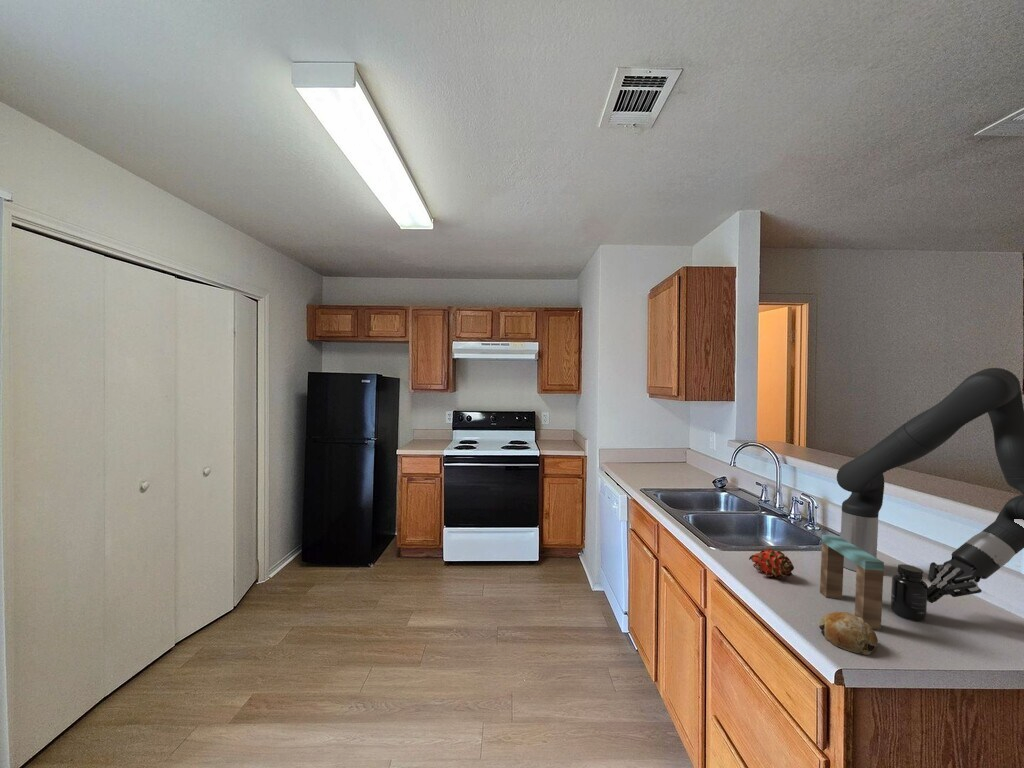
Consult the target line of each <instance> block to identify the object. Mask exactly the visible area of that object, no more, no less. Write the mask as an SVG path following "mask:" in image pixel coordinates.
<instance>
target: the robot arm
mask: <svg viewBox="0 0 1024 768" xmlns="http://www.w3.org/2000/svg"><path fill="white" fill-rule="evenodd" d="M985 414H987V415H988V417H989V420H990V423H991V426H992V432H993V441H994V450H995V455H996V458H997V461H998V464H999V467H1000V470H1001V473H1002V475H1003V477H1004V480H1005V482H1006V484H1007V485H1008V486H1009V487H1010V488H1013V489H1015V490H1017V491H1019V492H1020V493H1021V494H1019V495H1017V496H1014V497H1012V498H1010V499H1009V500H1008V501H1007V502H1006V503H1005V504H1004V506H1003V507H1002V509H1001V510H1000V512H999V513H998V515H997V517H996V518H995V520H994V521H993V522H992V523H990V524H989V525H988V526H987V527H986V528H984V529H983V530H982V531H980V532H979V533H976V534H974V535H973V536H972V537H971V538H969V539H968V540H966V542H964V543H963V544H961V545H960V546H959V547H958V548H957V549H955V550H954V551H952V553H951V558H950V559H949V560H947V561H944V562H943V564H942V563H941V564H937V563H936V562H934V561H933V562H931V563H929V569H928V575H927V580H928V581H929V583H930V585H929V586H928V594H927V603H928V602H929V603H930V604H933V603H936V602H937V601H939V599H941V598H943V597H944V596H952V598H957V597H963V596H968V595H976V594H980V593H982V589H981V588H980V587H979V585H978V583H979V582H980V581H981V580H987V579H988V578H989V577H991V576H992V575H993V574H995V573H996V572H997V571H998V570H1000V569H1002V568H1003V567H1004V566H1005V565H1006V564H1008V563H1009V562H1010V561H1011V560H1012V559H1013V558H1014V556H1016V555H1017V554H1018V553H1019V552H1021V551H1022V550H1024V528H1023V527H1022V526H1020V525H1019V524H1017V523H1015V522H1014V519H1023V520H1024V403H1023V395H1022V387H1021V382H1020V380H1019V378H1018V377H1017V376H1016V374H1014V373H1013V372H1012V371H1009V370H1007V369H1006V368H1005V369H1004V368H1000V367H987V368H983V369H982V370H980V371H979V370H978V371H977V372H975V373H973V374H970V375H969V376H967V377H966V378H965V379H964V380H963V381H962V382H961V383H960V384H959V385H958V386H957V387H955V388H954V390H952V391H951V392H950V393H949V394H948V395H946V396H945V397H944V398H943V399H942V400H940V401H939V402H938V403H937V404H935V405H934V406H932V407H930V408H928V409H926V410H924V411H922V412H920V413H919V414H917V415H915V416H914V417H912V418H910V419H909V420H907V421H906V422H904V423H903V424H902V425H900V426H899V427H898V428H896V429H895V430H893V432H891V433H890V434H889V435H887V436H886V437H885V438H883V439H882V440H880V441H879V442H877V444H875V445H874V446H872V447H870V449H868V450H867V451H866V452H864V453H862V454H861V455H859V456H857V457H855V458H854V459H852V460H850V461H848V462H846V463H845V464H843V465H842V466H841V467H840V468H839V469H838V470H837V473H836V481H837V484H838V485H839V487H840V488H841V489H843V490H844V491H847V492H849V493H851V494H850V495H849V497H848V498H846V499H845V500H844V501H842V503H841V517H840V518H841V521H840V522H841V523H840V524H841V525H840V532H839V537H841V538H842V539H844V540H846V541H848V542H849V543H851V544H853V545H855V546H856V547H858V548H860V549H862V550H863V551H865V552H867V553H868V554H870V555H872V556H874V557H875V558H877V557H878V537H879V536H878V534H879V513H880V510H881V509H882V506H883V501H884V492H885V477H884V473H886V472H887V471H890V470H892V469H896V468H899V467H902V466H904V465H907V464H909V463H912V462H914V461H917V460H919V459H921V458H923V457H925V456H926V455H928V454H930V453H931V452H932V451H934V450H936V449H937V448H940V447H941V446H942V445H943V444H944V443H945V442H947V441H948V440H949V439H951V438H952V437H953V436H954V435H955V434H956V433H957V432H958V431H959V430H960V429H962V428H963V426H966V425H967V424H969V423H970V422H972V421H973V420H976V419H977V418H979V417H981V416H983V415H985ZM877 559H878V558H877ZM843 568H845V569H848V570H850V571H853V572H857V564H856V563H854V562H853V561H851V560H850V559H848V558H846V557H845V556H844V567H843Z"/></svg>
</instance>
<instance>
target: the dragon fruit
mask: <svg viewBox="0 0 1024 768" xmlns="http://www.w3.org/2000/svg"><path fill="white" fill-rule="evenodd" d="M748 560H749V561H750V560H751V562H752V563H753V564H752V566H753V568H754V569H756V570H757V571H760V572H762V573H764V574H765V576H766V577H767V578H771V577H773V576H774V577H775V578H776V579H782V578H783V577H791V576H793V573H792V572H793V571H794V570H795V567H794V564H793V562H792V561H791V560H790V558H789V557H788V556H786V555H785V553H783V552H782V551H780V550H779V549H777V550H776V551H775V550H774V549H773V548H768V547H767V548H765V549H761V550H760V552H757V553H754V554H751V555H750V556H749V558H748Z"/></svg>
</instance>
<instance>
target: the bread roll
mask: <svg viewBox="0 0 1024 768" xmlns="http://www.w3.org/2000/svg"><path fill="white" fill-rule="evenodd" d="M817 625H818V627H819V629H820V630H821V631H820V634H821V635H822V636H823V637H824V639H825V640H826V641H828V642H829V643H831V645H833V646H835V647H837V648H840V649H842V650H845V651H847V652H850V653H854V654H861V655H863V656H869V655H871V654H872V653H873V652H874V651H875V650H876V649H877V648H878V644H879V642H878V641H879V640H878V639H879V638H878V636H877V634H876V632H875V631H874V629H872V628H871V627H870V626H869V625H868V624H867V623H866V622H865V621H864V619H862V618H860V617H857V616H855V614H852V613H849V612H842V611H835V612H831V613H828V614H827V615H826V614H825V616H822V617H821V620H820V621H818V624H817Z"/></svg>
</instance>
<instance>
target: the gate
mask: <svg viewBox="0 0 1024 768" xmlns="http://www.w3.org/2000/svg"><path fill="white" fill-rule="evenodd" d="M844 556H845V557H846V558H848V559H850V560H851V561H853V562H854V563H856V564H857V571H856V576H855V577H856V578H855V601H854V615H855V616H857V617H860V618H862V619H864V621H865V622H866V623H867V624H868V625H869V626H870V627H871V628H872V629H873V630H877V631H878V630H882V613H883V612H882V609H883V591H884V567H885V562H884V561H882V560H880V559H879V558H875V557H874V556H872V555H870V554H868V553H867V552H865V551H863V550H862V549H860V548H858V547H856V546H855V545H853V544H851V543H849V542H848V541H846V540H844V539H842V538H841V537H840V535H829V534H822V535H821V557H820V558H821V559H820V560H821V561H820V582H819V593H820V594H821V595H822V596H824V597H825V598H827V599H837V598H838V599H839V600H843V587H844V586H843V585H844V568H845V567H844ZM838 599H837V600H838Z"/></svg>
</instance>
